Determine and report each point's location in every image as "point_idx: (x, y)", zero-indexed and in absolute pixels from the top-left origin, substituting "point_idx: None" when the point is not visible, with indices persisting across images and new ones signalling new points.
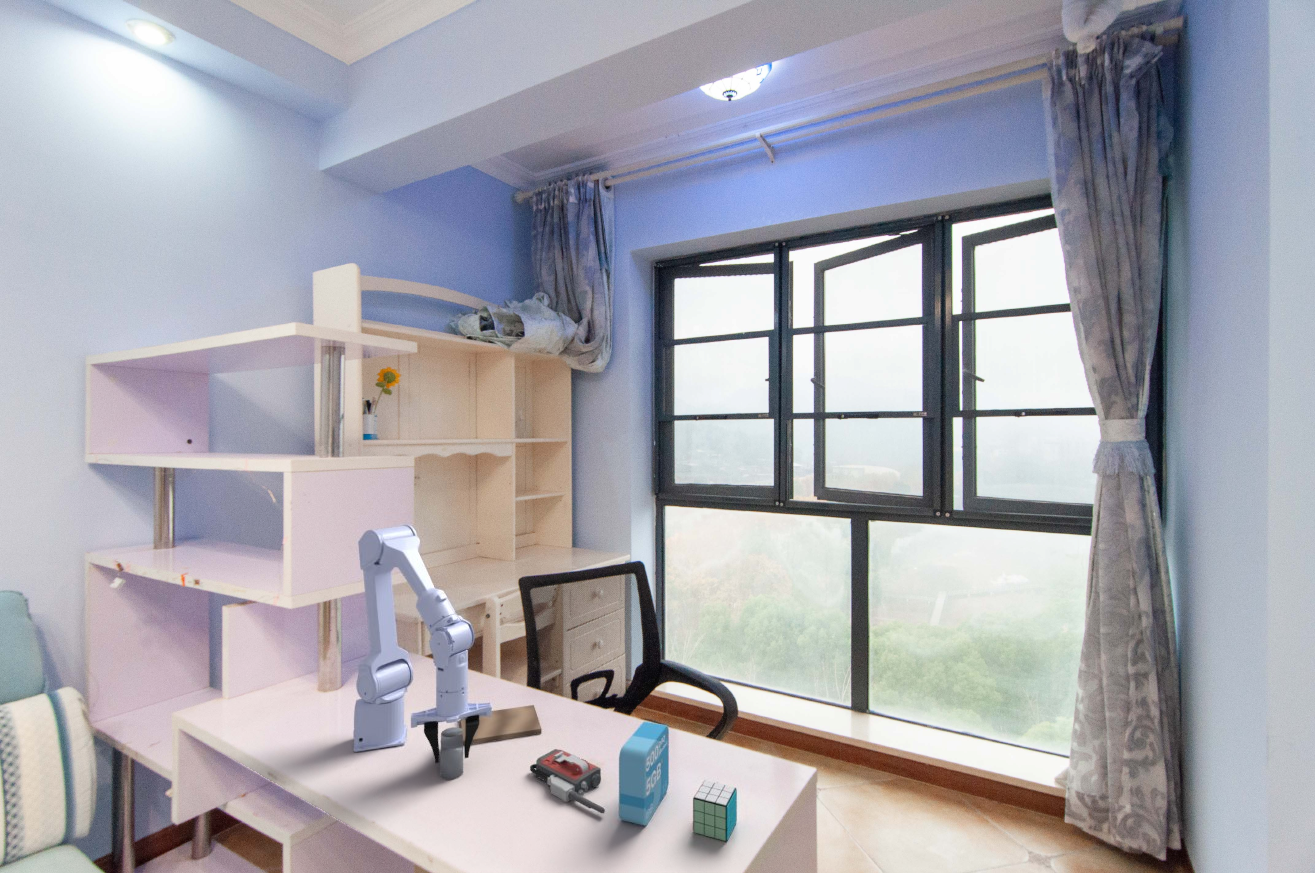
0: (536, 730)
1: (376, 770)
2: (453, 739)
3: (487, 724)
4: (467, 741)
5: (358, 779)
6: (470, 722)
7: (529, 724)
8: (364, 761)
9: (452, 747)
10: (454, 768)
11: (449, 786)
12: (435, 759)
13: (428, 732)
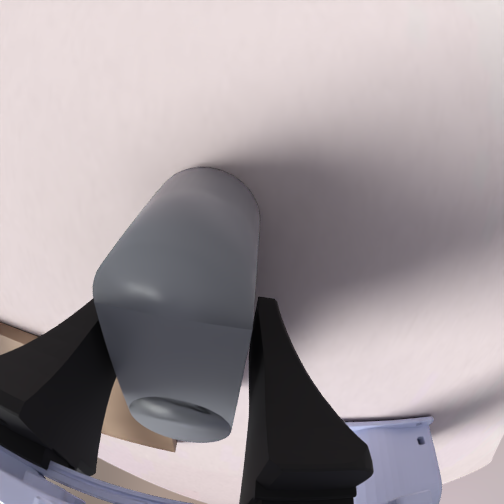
0: None
1: (441, 347)
2: (165, 378)
3: None
4: (81, 328)
5: (491, 321)
6: (11, 420)
7: (1, 352)
8: (437, 387)
9: (165, 310)
10: (182, 187)
11: (229, 104)
12: (276, 308)
13: (352, 465)
